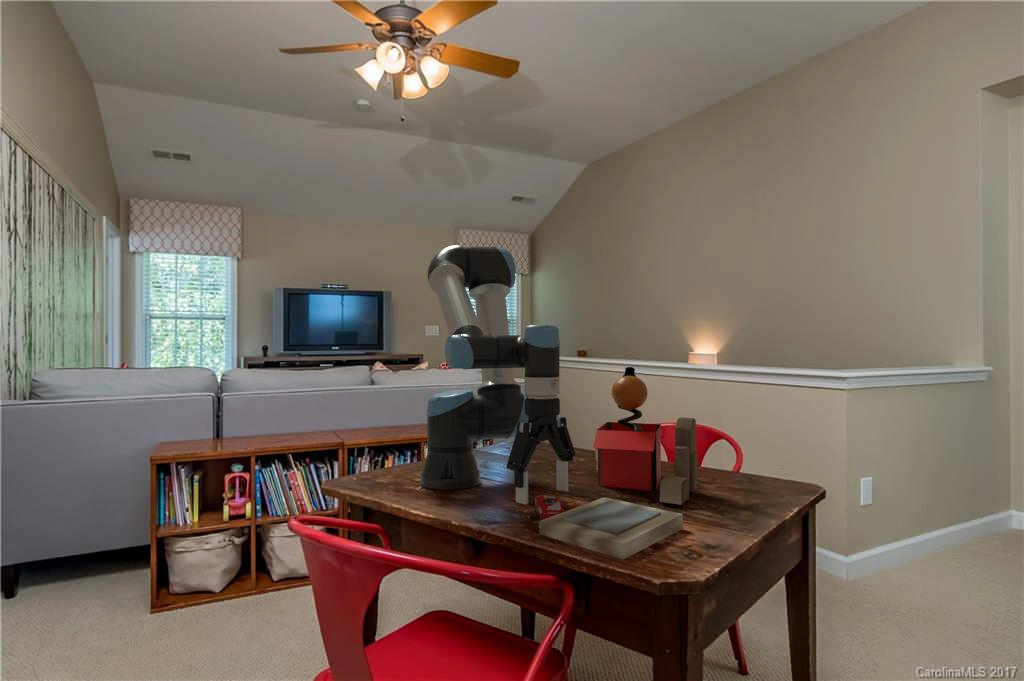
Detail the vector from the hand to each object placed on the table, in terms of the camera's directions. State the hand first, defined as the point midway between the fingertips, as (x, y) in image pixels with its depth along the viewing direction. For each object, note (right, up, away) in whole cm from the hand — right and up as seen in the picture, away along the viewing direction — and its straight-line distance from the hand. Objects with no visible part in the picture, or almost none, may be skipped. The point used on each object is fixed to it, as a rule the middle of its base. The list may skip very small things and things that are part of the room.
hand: (543, 496), depth 121 cm
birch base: (+13, -4, -13) cm, 18 cm away
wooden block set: (+32, -4, +11) cm, 34 cm away
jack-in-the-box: (+24, -4, +27) cm, 36 cm away
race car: (0, -5, +1) cm, 5 cm away
